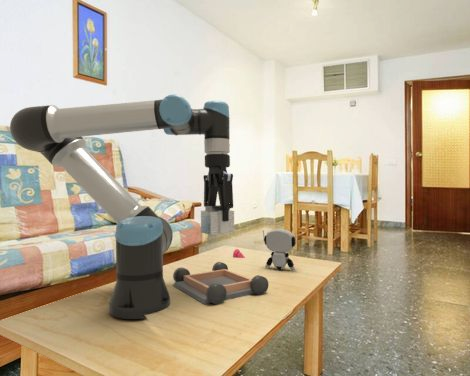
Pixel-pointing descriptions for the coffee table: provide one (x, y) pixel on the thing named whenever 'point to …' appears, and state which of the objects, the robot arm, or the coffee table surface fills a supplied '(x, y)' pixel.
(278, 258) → the robot toy
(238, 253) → the toy pieces
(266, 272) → the coffee table surface
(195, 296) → the chassis
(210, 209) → the block
